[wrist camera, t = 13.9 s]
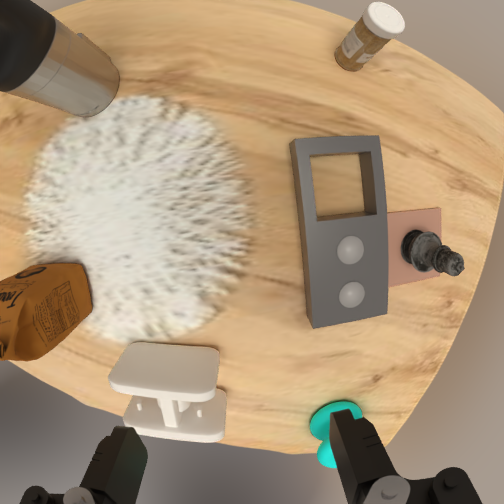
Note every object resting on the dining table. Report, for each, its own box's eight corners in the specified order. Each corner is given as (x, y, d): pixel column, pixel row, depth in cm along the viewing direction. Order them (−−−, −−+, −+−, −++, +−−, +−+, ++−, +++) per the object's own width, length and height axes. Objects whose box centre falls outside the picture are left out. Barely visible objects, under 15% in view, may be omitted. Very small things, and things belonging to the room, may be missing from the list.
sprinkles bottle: (361, 76, 33) (406, 39, 20) (331, 65, 33) (367, 22, 20) (364, 51, 32) (406, 11, 19) (335, 41, 32) (369, -6, 19)
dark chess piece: (427, 223, 38) (478, 238, 26) (431, 259, 39) (479, 283, 27) (396, 233, 38) (445, 252, 26) (401, 270, 39) (447, 299, 28)
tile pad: (380, 213, 38) (382, 214, 37) (438, 207, 38) (440, 208, 37) (382, 286, 40) (383, 288, 40) (437, 274, 40) (439, 276, 40)
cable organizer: (226, 344, 42) (221, 393, 31) (227, 395, 44) (224, 447, 33) (131, 337, 41) (103, 380, 30) (141, 388, 44) (121, 434, 32)
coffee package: (32, 254, 38) (-63, 299, 16) (90, 258, 38) (-11, 318, 17) (41, 309, 40) (-38, 372, 19) (97, 319, 41) (20, 403, 19)
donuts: (365, 466, 38) (312, 473, 37) (351, 431, 48) (303, 435, 47) (384, 432, 36) (327, 440, 35) (365, 396, 45) (314, 399, 45)
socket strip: (289, 143, 36) (294, 138, 31) (366, 139, 36) (379, 135, 31) (307, 315, 41) (313, 329, 37) (376, 303, 41) (387, 314, 37)
